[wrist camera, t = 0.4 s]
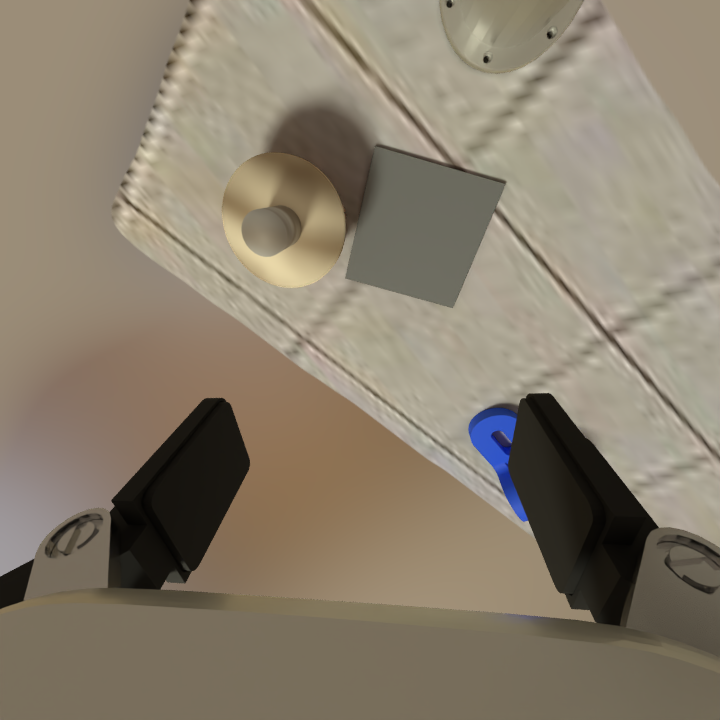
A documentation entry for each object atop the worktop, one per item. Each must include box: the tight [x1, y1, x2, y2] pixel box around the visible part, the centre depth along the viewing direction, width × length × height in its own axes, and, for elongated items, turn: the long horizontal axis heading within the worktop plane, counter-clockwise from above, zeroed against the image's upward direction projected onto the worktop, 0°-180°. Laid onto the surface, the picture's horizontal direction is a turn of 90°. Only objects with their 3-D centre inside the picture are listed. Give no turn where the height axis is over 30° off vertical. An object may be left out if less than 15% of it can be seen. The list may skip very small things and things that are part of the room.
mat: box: [345, 146, 505, 308], centre depth 38 cm, size 15×15×1 cm
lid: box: [222, 152, 346, 288], centre depth 31 cm, size 13×13×7 cm
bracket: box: [469, 408, 528, 522], centre depth 49 cm, size 18×8×9 cm, turn 41°
